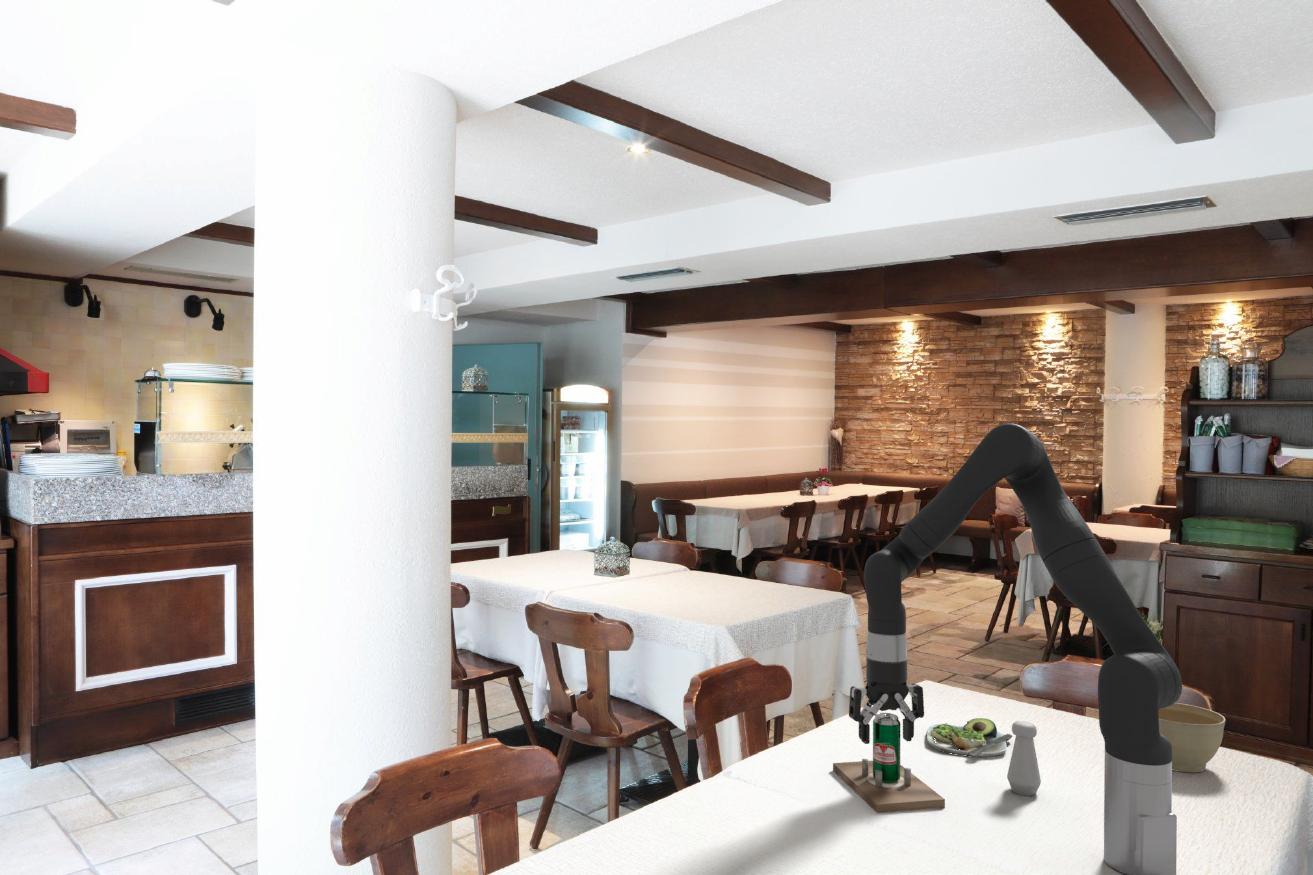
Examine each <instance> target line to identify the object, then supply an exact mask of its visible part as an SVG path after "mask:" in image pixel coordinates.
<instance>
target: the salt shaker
mask: <svg viewBox="0 0 1313 875" xmlns="http://www.w3.org/2000/svg"><path fill="white" fill-rule="evenodd" d="M1011 732H1012V735H1014V736H1015V738H1014V742H1013V748H1012V752H1011V758H1010V761H1009V767H1008V770H1007V776H1006V777H1007V780H1008V784H1009V785H1010V788H1011V791H1012V792H1013V793H1015V794H1017V795H1020V796H1026V797H1032V796H1034V795H1036V794H1037V792H1038V790H1039V788H1040V786H1041V784H1042V783H1041V782H1042V779H1041V774H1040V769H1039V763H1038V757H1037V751H1036V747H1035V740H1034V738H1036V737H1037V734H1038V730H1037V726H1036V725H1035V724H1034V723H1033V722H1030V721H1026V720H1016V721H1014V722H1013V723H1012V725H1011Z"/></svg>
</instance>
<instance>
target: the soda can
mask: <svg viewBox="0 0 1313 875" xmlns="http://www.w3.org/2000/svg"><path fill="white" fill-rule="evenodd" d="M872 760H873V777H874V778H875V771H876V770H881V771H882V783H888V784H891V783H896V782H898V781H899V779H900V765H901V721H900V720H899V716H898V715H897V714H895V713H891V712H877V714H876V715H875V716H874V718H873V720H872Z"/></svg>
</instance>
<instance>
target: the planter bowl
mask: <svg viewBox="0 0 1313 875" xmlns="http://www.w3.org/2000/svg"><path fill="white" fill-rule="evenodd" d="M1158 714H1159V732H1160V735H1162V736H1164V737H1166V738H1167V739H1168V740H1169V741H1170V742H1171V745H1172V771H1178V772H1183V773H1201V772H1204V771H1205V770H1206V768H1207V764H1209V762H1210V761H1211V760H1212V759H1213V758H1214V757H1215V755H1216V754H1217V752H1218V751H1219V748H1220V747H1221V744H1222V741H1223V738H1224V729H1225V725H1226V718H1225V716H1224V715H1222V714H1221V713H1219V712H1216V711H1213V710H1212V709H1211V710H1210V709H1207V708H1204V707H1202V706H1201V707H1200V706H1196V705H1192V704H1185V703H1181V702H1180V703H1179V702H1175V703H1174V704H1172V705H1170V706H1168V707H1165V708H1161V709H1158Z"/></svg>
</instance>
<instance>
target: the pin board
mask: <svg viewBox="0 0 1313 875" xmlns="http://www.w3.org/2000/svg"><path fill="white" fill-rule="evenodd" d="M832 771H833V772H834V773H835V774H836V775H837V776H838V777H839V778H840V779H841V780H842V781H843V782H844V781H845V782H844V783H845V784H846V785H848V786H849V788H850V789H852V790H853V791H854V792H855V793H856V794H857V795H858V796H859V797H860V798H861V799H862V800H864V802H865V803H866V804H868V806H870V807H871V808H872V809H873V811H875V812H876V814H877V813H878V814H880V813H882V814H883V813H891V812H892V813H894V812H905V811H906V812H907V811H919V810H932V809H945V808H946V807H945V806H946V800H945V798H944V797H942V796H941V795H940V794H939V793H937V791H935V790H934V789H933V788H932V787H930V786H928V785H927V784H926V783H925V782H923V781H922V780H921V779H920V778H918V777H917V776H916V775H915V774H913V773H912V769H911V768H909V767H904V766H903V765H902V764H900V779H899V781H898V782H896V783H891V784H888V783H882V771H881V770H876V771H875V778H874V777H873V759H872V760H869V759H868V758H862V759H861V761H844V762H842V761H841V762H833V763H832ZM943 807H944V808H943Z"/></svg>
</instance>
